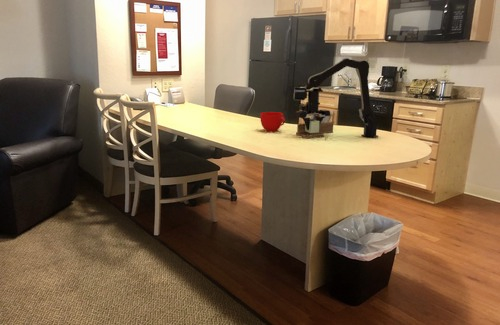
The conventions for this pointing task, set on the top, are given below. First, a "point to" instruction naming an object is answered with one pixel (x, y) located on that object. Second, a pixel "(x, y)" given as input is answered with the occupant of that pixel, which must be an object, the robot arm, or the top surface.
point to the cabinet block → (313, 126)
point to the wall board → (323, 128)
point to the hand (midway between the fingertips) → (312, 129)
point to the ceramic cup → (271, 120)
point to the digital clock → (326, 119)
